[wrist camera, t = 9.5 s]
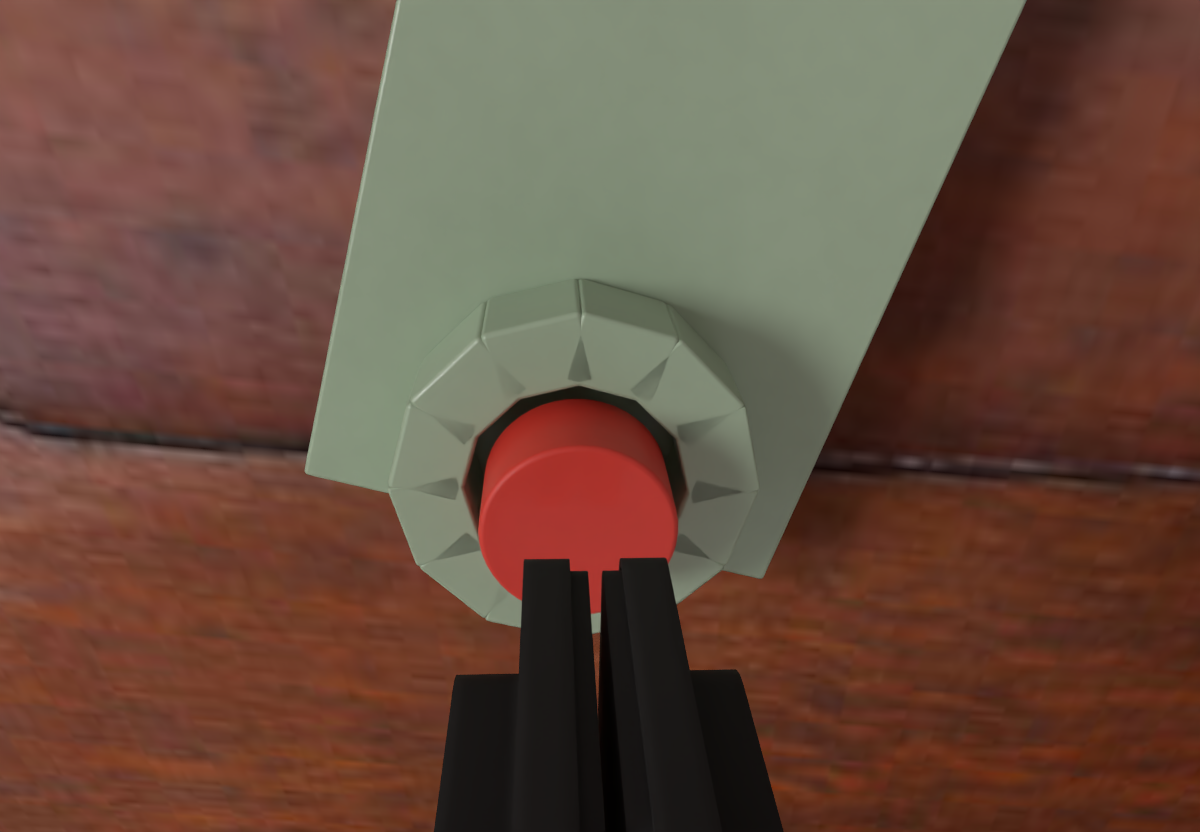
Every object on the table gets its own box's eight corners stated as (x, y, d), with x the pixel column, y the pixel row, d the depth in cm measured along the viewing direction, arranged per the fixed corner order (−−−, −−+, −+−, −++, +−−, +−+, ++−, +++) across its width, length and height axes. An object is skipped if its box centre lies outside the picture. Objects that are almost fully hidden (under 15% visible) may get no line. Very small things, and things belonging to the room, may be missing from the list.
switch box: (726, 556, 20) (765, 680, 17) (320, 462, 19) (267, 576, 15) (1121, -359, 14) (1327, -479, 10) (541, -624, 12) (538, -879, 9)
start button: (633, 570, 16) (642, 635, 14) (465, 532, 16) (457, 594, 14) (689, 422, 15) (707, 475, 13) (510, 376, 14) (506, 425, 13)
